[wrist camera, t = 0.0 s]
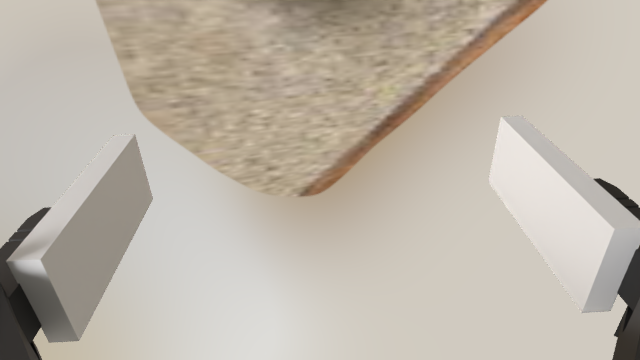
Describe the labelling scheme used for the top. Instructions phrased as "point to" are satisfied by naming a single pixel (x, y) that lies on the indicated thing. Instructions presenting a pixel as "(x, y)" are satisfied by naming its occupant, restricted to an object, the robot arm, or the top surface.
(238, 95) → the top surface
